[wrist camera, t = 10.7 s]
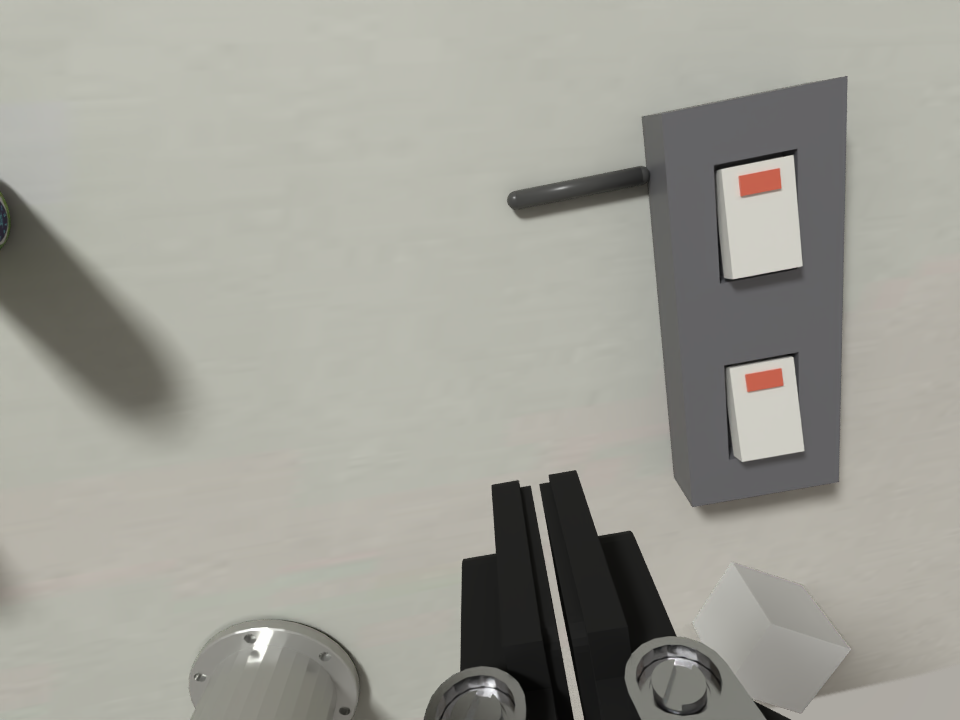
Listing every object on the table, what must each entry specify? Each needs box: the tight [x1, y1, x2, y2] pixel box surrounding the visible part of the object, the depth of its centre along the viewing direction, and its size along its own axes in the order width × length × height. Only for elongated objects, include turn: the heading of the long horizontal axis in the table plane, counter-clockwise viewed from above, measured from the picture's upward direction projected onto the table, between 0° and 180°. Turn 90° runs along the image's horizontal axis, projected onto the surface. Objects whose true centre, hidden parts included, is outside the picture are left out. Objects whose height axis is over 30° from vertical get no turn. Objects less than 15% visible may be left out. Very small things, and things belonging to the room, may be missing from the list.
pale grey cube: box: [692, 562, 851, 713], centre depth 41 cm, size 6×6×6 cm
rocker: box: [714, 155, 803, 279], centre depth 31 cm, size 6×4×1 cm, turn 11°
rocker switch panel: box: [507, 76, 847, 507], centre depth 35 cm, size 23×17×4 cm
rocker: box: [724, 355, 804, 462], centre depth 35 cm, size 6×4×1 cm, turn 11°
